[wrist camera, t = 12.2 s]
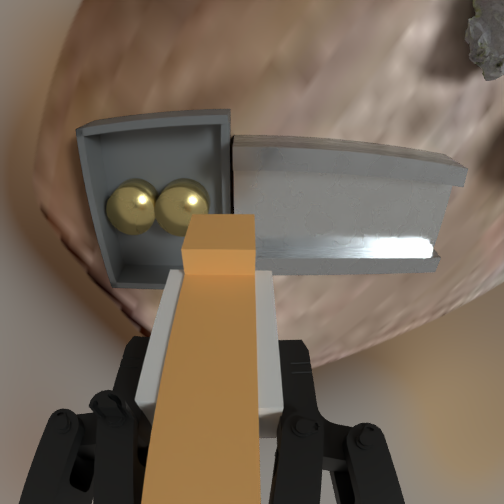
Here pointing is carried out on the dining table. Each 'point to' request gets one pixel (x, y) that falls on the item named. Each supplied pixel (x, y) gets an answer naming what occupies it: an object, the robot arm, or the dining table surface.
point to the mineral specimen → (487, 37)
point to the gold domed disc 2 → (181, 205)
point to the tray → (152, 182)
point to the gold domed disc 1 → (132, 206)
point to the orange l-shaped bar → (210, 374)
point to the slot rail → (342, 204)
